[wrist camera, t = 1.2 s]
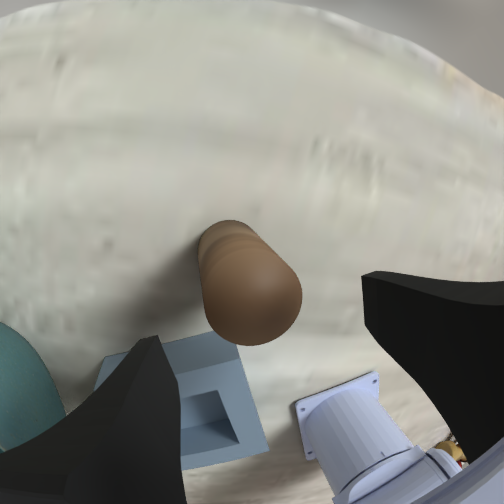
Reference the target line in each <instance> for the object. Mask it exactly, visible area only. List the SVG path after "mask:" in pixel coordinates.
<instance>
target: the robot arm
mask: <svg viewBox="0 0 504 504" xmlns="http://www.w3.org/2000/svg"><path fill="white" fill-rule="evenodd" d="M361 279H362V291H363V305H364V322H365V326H366V327H367V329H368V330H369V332H370V333H371V335H372V336H373V337H374V339H375V340H376V341H377V342H378V344H379V345H380V346H381V347H382V348H383V349H384V350H385V351H386V352H387V353H388V354H389V355H390V356H391V357H392V358H393V359H394V360H395V361H396V362H397V363H398V364H399V365H400V366H401V367H402V368H403V369H404V370H405V371H406V372H407V373H408V374H409V375H410V376H411V377H412V378H413V379H414V380H415V381H416V382H417V383H418V385H419V386H420V387H421V388H422V389H423V391H424V392H425V393H426V395H427V396H428V397H429V399H430V400H431V401H432V403H433V404H434V405H435V407H436V408H437V410H438V411H439V413H440V414H441V416H442V417H443V419H444V420H445V422H446V423H447V425H448V427H449V428H450V430H451V432H452V433H453V435H454V437H455V438H456V440H457V442H458V444H459V446H460V448H461V449H462V451H463V453H464V455H465V457H466V459H467V462H468V464H469V466H467V467H466V468H465V469H463V470H462V468H461V467H460V466H459V465H458V463H457V462H456V461H455V460H454V459H453V458H452V457H451V456H450V455H449V454H448V453H447V452H445V451H444V450H442V449H435V448H430V449H429V450H428V451H427V452H426V453H425V452H424V451H423V450H422V449H421V447H420V446H419V445H416V446H415V447H414V445H413V444H412V443H411V442H410V440H409V439H408V438H407V437H406V435H405V434H404V433H403V431H402V430H401V429H400V428H399V426H398V425H397V424H396V423H395V421H394V420H393V419H392V418H391V416H390V415H389V414H388V413H387V411H386V410H385V409H384V408H383V406H382V405H381V404H380V403H379V401H378V396H379V373H378V372H377V371H373V372H371V373H369V374H366V375H364V376H362V377H359V378H357V379H354V380H352V381H349V382H347V383H345V384H342V385H339V386H337V387H334V388H332V389H329V390H326V391H324V392H321V393H318V394H316V395H313V396H310V397H307V398H304V399H301V400H299V401H297V402H296V403H295V408H296V413H297V418H298V423H299V428H300V433H301V438H302V443H303V447H304V452H305V457H306V459H307V460H313V459H316V458H317V460H318V462H319V464H320V466H321V468H322V470H323V472H324V474H325V477H326V479H327V481H328V483H329V485H330V487H331V489H332V491H333V493H334V495H335V497H333V498H332V500H333V502H334V504H504V281H498V282H459V281H448V280H439V279H432V278H425V277H419V276H413V275H407V274H401V273H394V272H386V271H374V272H371V273H368V274H365V275H363V276H361ZM373 380H374V381H373ZM302 408H303V409H302ZM0 504H187V501H186V496H185V490H184V484H183V478H182V471H181V403H180V394H179V387H178V381H177V379H176V377H175V375H174V372H173V370H172V368H171V366H170V363H169V361H168V359H167V356H166V354H165V352H164V349H163V347H162V345H161V342H160V340H159V337H158V335H156V336H152V337H148V338H144V339H140V340H139V341H138V342H137V343H136V344H135V346H134V347H133V348H132V349H131V350H130V351H129V353H128V354H127V355H126V356H125V358H124V359H123V360H122V361H121V362H120V364H119V365H118V366H117V367H116V368H115V370H114V371H113V372H112V373H111V374H110V375H109V376H108V377H107V378H106V380H105V381H104V382H103V383H102V384H101V385H100V386H99V387H98V388H97V389H96V390H95V391H94V392H93V393H92V394H91V395H90V396H89V397H88V398H87V399H86V400H85V401H84V402H83V403H82V404H81V405H79V406H78V407H77V408H76V409H75V410H74V411H72V412H71V413H70V414H68V415H67V416H66V417H64V418H63V419H62V420H60V421H59V422H58V423H56V424H55V425H53V426H52V427H51V428H49V429H48V430H46V431H44V432H43V433H41V434H39V435H38V436H36V437H34V438H32V439H31V440H29V441H27V442H25V443H23V444H21V445H19V446H17V447H14V448H12V449H10V450H7V451H5V452H3V453H0Z"/></svg>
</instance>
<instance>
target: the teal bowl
mask: <svg viewBox="0 0 504 504" xmlns="http://www.w3.org/2000/svg"><path fill="white" fill-rule="evenodd" d="M64 417H66V413H65V410H64V407H63V404H62V402H61V399H60V396H59V394H58V392H57V389H56V387H55V385H54V382H53V380H52V378H51V376H50V374H49V372H48V370H47V368H46V366H45V364H44V363H43V361H42V359H41V358H40V356H39V355H38V353H37V352H36V351H35V349H34V348H33V347H32V346H31V345H30V344H29V342H28V341H27V340H26V339H25V338H23V337H22V336H21V335H20V334H19V333H17V332H16V331H15V330H13V329H12V328H10V327H9V326H7V325H5V324H3V323H1V322H0V453H3V452H5V451H7V450H10V449H12V448H14V447H17V446H19V445H21V444H23V443H25V442H27V441H29V440H31V439H32V438H34V437H36V436H38V435H39V434H41V433H43V432H44V431H46V430H48V429H49V428H51V427H52V426H53V425H55V424H56V423H58V422H59V421H60V420H62V419H63V418H64Z"/></svg>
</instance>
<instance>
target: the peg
mask: <svg viewBox="0 0 504 504" xmlns="http://www.w3.org/2000/svg"><path fill="white" fill-rule="evenodd" d="M198 261H199V270H200V278H201V286H202V294H203V302H204V309H205V314H206V318H207V320H208V322H209V324H210V326H211V327H212V329H213V330H214V331H215V332H216V333H217V334H218V335H219V336H220V337H222V338H223V339H225V340H227V341H229V342H231V343H234V344H238V345H244V346H254V345H261V344H265V343H267V342H270V341H272V340H274V339H276V338H278V337H279V336H281V335H282V334H283V333H285V332H286V331H287V330H288V329H289V328H290V327H291V325H292V324H293V323H294V321H295V320H296V318H297V316H298V314H299V312H300V308H301V304H302V288H301V284H300V282H299V279H298V277H297V275H296V274H295V272H294V271H293V270H292V269H291V268H290V267H289V266H288V265H287V264H286V263H285V262H284V261H283V260H282V259H281V258H280V257H279V256H278V255H277V254H276V253H275V252H274V251H273V250H272V249H271V248H270V247H269V246H268V245H267V244H266V243H265V242H264V241H263V240H262V239H261V238H260V237H259V236H258V235H257V234H256V233H255V232H254V231H253V230H252V229H251V228H250V227H249V226H248V225H246V224H244V223H242V222H239V221H235V220H225V221H220V222H217V223H215V224H213V225H212V226H210V227H209V228H208V229H207V230H206V231H205V232H204V234H203V235H202V237H201V239H200V241H199V244H198Z"/></svg>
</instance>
